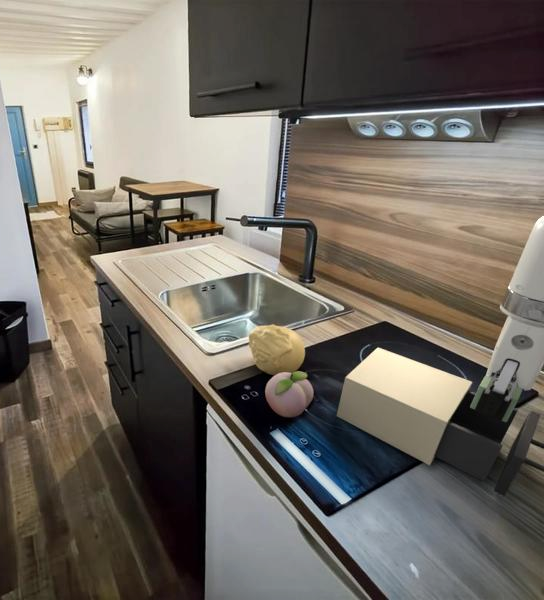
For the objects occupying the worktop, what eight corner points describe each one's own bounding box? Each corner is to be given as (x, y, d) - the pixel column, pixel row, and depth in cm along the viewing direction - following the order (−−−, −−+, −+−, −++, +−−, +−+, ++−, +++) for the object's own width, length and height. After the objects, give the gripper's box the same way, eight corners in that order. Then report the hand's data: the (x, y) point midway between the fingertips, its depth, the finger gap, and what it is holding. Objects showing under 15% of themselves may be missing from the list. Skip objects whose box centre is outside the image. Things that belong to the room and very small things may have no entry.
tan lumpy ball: (239, 360, 90) (242, 323, 86) (279, 349, 94) (283, 312, 89) (269, 388, 81) (274, 347, 76) (312, 373, 84) (319, 334, 80)
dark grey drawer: (566, 468, 58) (589, 432, 55) (553, 522, 51) (579, 484, 48) (421, 405, 72) (433, 373, 69) (395, 440, 65) (406, 407, 62)
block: (512, 408, 58) (523, 386, 56) (506, 422, 55) (517, 400, 53) (476, 395, 61) (486, 373, 59) (469, 407, 58) (479, 385, 56)
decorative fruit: (277, 392, 79) (282, 354, 75) (315, 411, 74) (322, 371, 69) (254, 415, 74) (258, 375, 69) (292, 437, 68) (299, 395, 64)
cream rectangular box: (455, 422, 69) (472, 381, 65) (429, 465, 61) (447, 422, 57) (367, 383, 80) (377, 347, 76) (336, 416, 72) (345, 377, 68)
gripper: (573, 338, 43) (512, 450, 51) (587, 295, 52) (534, 395, 60) (489, 316, 48) (446, 421, 56) (515, 280, 57) (475, 374, 65)
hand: (492, 406), depth 58 cm, fingers closed on block, 4 cm apart
